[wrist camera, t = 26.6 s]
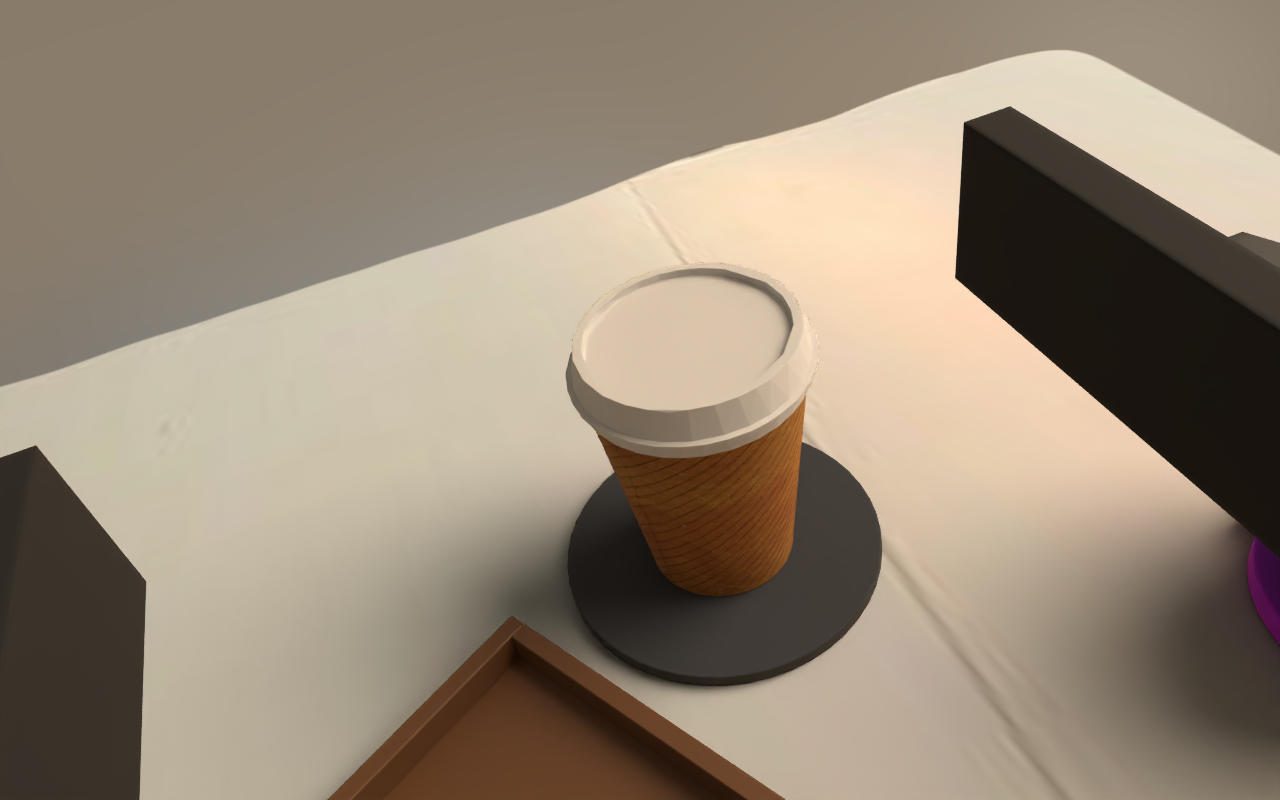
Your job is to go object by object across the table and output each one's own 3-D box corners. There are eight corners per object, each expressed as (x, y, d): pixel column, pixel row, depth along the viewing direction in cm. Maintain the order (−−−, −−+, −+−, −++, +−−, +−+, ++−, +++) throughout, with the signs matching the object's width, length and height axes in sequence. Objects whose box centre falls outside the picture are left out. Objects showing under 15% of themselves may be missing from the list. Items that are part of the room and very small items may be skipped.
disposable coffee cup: (587, 609, 43) (519, 406, 35) (653, 451, 49) (608, 250, 41) (807, 648, 40) (786, 434, 32) (847, 474, 46) (839, 260, 38)
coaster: (507, 585, 45) (504, 577, 45) (694, 402, 52) (692, 394, 52) (760, 750, 37) (759, 742, 37) (940, 509, 44) (941, 500, 44)
